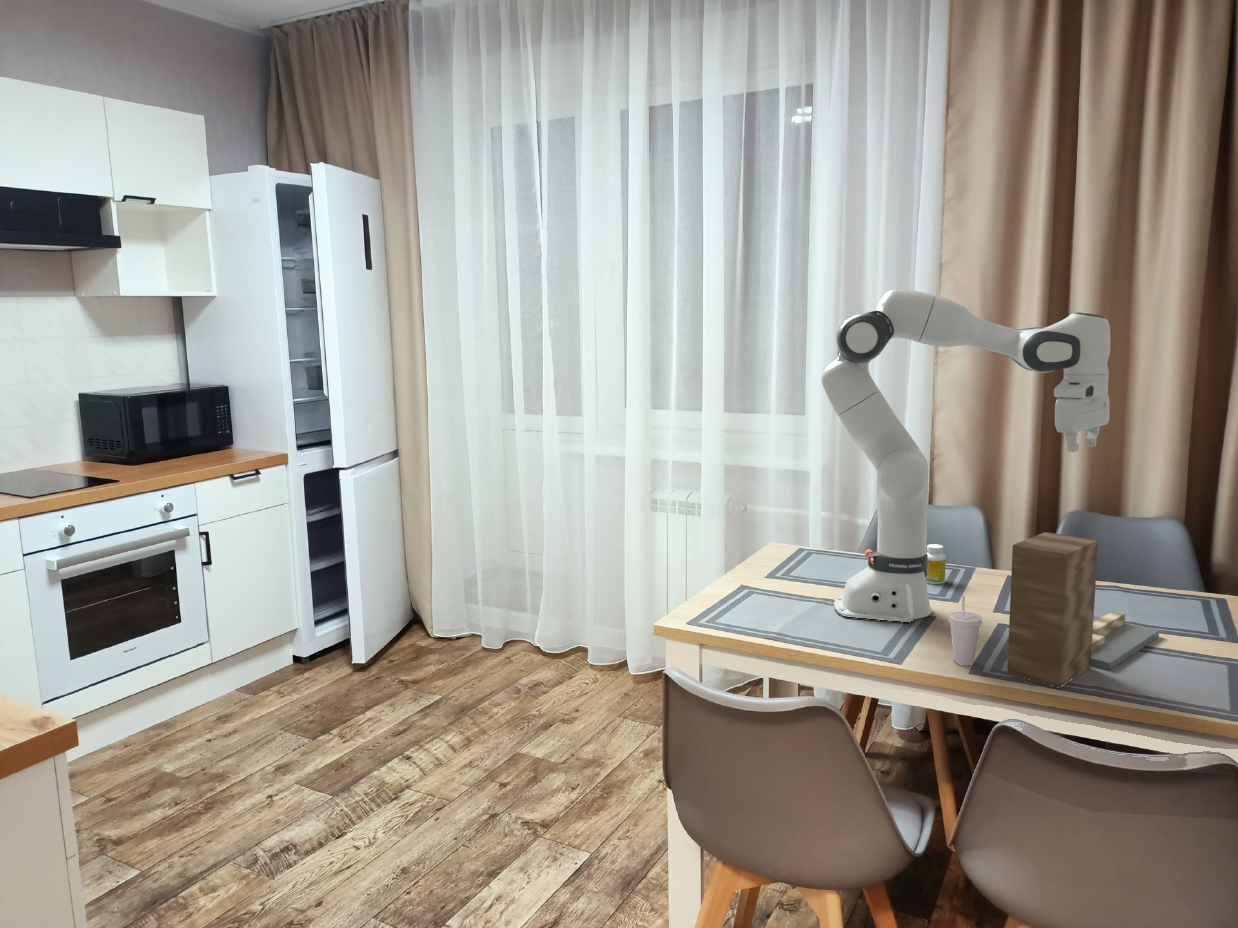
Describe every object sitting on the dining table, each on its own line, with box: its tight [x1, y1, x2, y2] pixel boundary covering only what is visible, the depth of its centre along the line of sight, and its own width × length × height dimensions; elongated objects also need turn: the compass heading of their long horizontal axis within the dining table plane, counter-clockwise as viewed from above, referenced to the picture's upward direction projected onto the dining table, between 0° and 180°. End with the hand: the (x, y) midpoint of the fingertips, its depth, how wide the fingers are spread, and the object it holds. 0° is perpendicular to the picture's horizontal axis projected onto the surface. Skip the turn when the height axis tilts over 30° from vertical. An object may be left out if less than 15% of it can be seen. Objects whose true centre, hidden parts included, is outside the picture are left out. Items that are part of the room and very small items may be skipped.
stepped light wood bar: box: [1092, 610, 1126, 650], centre depth 189 cm, size 23×6×2 cm, turn 130°
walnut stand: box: [1006, 531, 1099, 689], centre depth 173 cm, size 14×10×26 cm
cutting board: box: [1091, 615, 1160, 671], centre depth 189 cm, size 26×16×2 cm, turn 131°
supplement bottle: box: [926, 543, 947, 585], centre depth 234 cm, size 5×5×10 cm
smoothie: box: [948, 595, 983, 666], centre depth 180 cm, size 6×6×14 cm
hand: (1081, 449), depth 199 cm, fingers open, 8 cm apart
